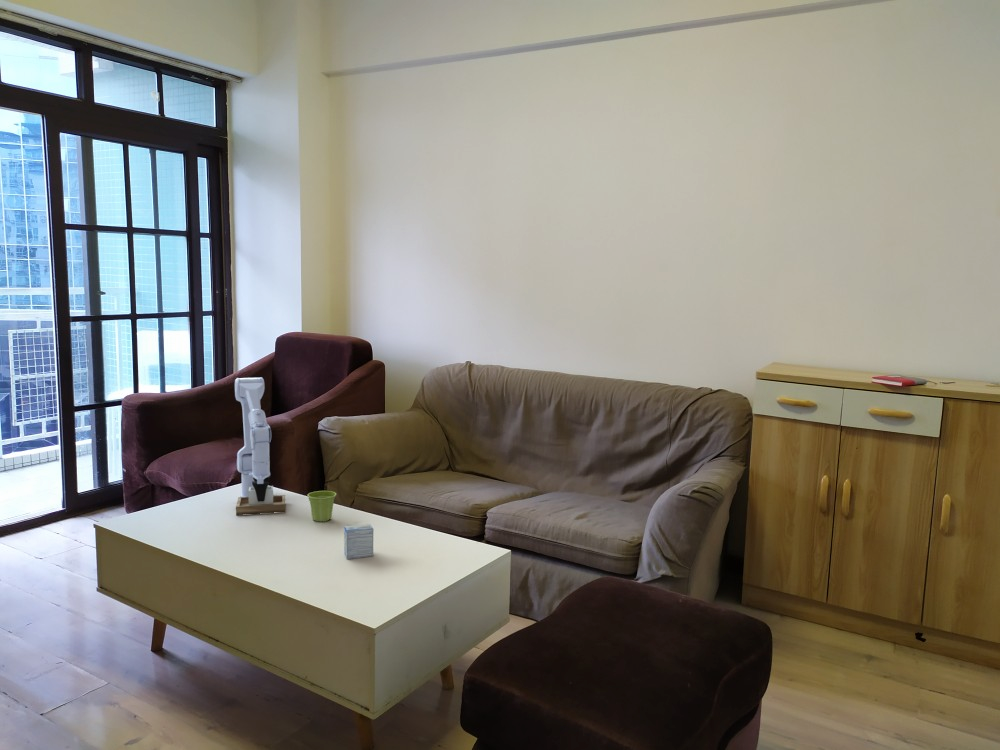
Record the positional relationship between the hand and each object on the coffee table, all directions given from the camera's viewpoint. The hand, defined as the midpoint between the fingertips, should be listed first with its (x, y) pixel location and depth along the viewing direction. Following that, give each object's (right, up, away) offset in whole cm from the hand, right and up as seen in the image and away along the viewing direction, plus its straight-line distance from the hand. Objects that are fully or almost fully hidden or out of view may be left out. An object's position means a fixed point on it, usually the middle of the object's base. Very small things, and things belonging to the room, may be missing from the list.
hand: (261, 499), depth 258 cm
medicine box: (+42, -10, -42) cm, 61 cm away
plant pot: (+24, -5, -9) cm, 26 cm away
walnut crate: (0, -4, 0) cm, 4 cm away
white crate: (0, -2, 0) cm, 2 cm away
